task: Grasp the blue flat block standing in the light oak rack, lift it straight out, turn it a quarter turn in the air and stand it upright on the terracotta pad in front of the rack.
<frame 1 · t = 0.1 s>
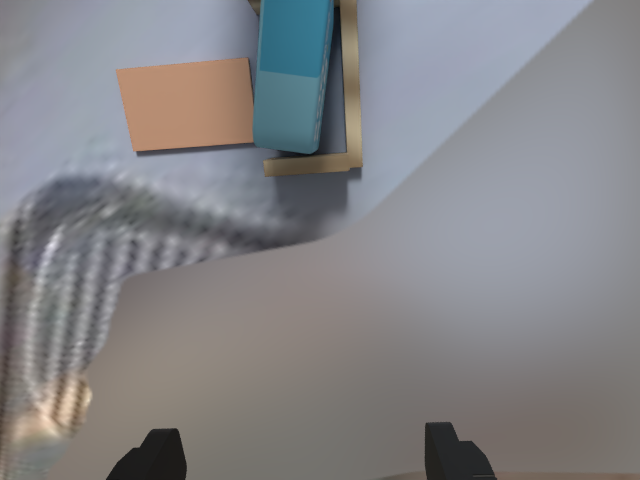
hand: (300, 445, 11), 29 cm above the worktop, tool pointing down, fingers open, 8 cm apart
oak rack: (303, 86, 35), on the worktop
terracotta pad: (190, 106, 36), on the worktop
blue flat block: (304, 87, 35), on the worktop
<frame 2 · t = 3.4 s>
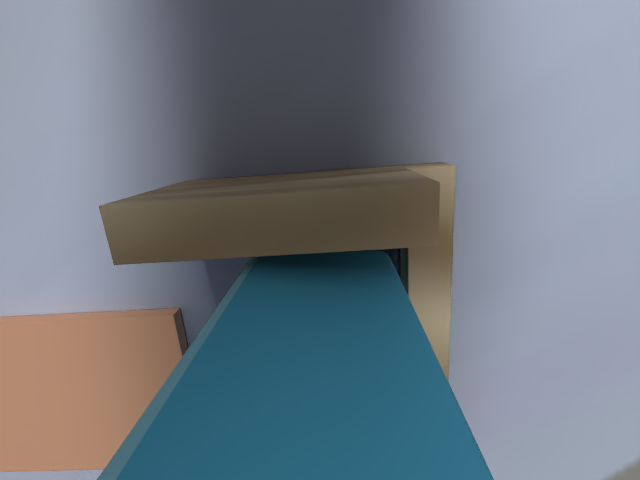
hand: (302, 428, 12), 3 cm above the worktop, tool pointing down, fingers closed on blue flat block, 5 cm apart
oak rack: (309, 364, 15), on the worktop
terracotta pad: (55, 392, 16), on the worktop
blue flat block: (310, 361, 15), on the worktop, touching gripper
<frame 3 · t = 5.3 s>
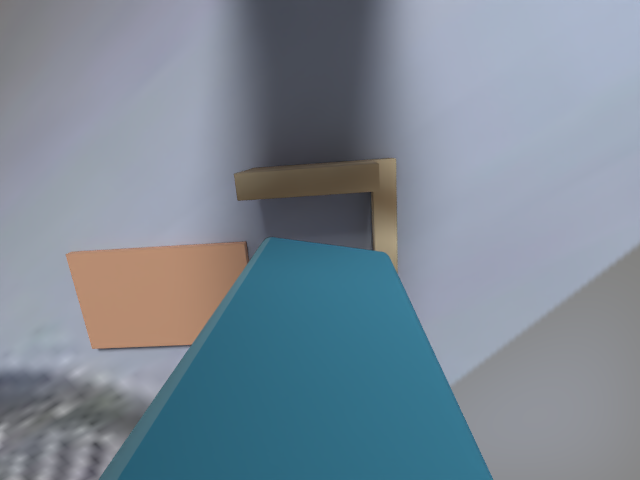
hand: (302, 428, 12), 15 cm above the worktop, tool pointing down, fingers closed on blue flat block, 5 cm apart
oak rack: (320, 275, 26), on the worktop
terracotta pad: (167, 295, 27), on the worktop
blue flat block: (310, 361, 15), point 11 cm above the worktop, touching gripper
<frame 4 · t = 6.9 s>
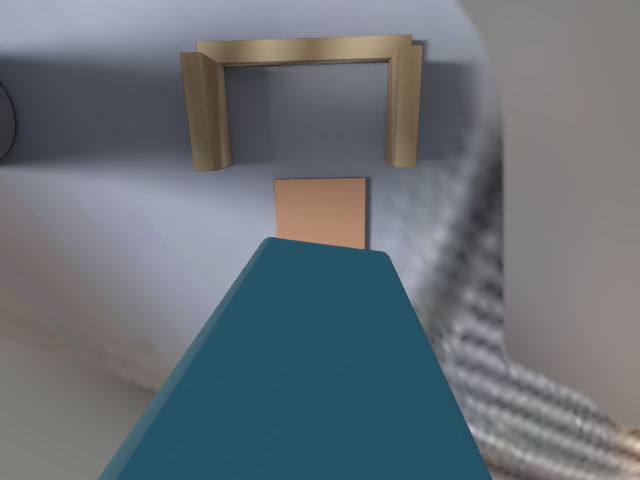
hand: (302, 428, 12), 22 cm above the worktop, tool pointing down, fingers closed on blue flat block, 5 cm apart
oak rack: (306, 116, 29), on the worktop
terracotta pad: (321, 250, 33), on the worktop
blue flat block: (310, 361, 15), point 18 cm above the worktop, touching gripper
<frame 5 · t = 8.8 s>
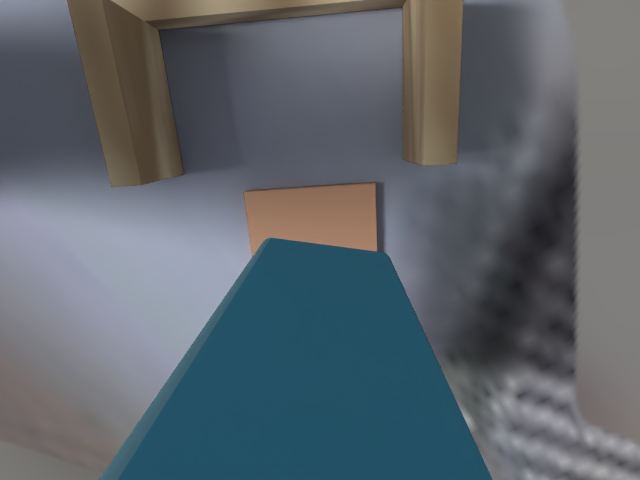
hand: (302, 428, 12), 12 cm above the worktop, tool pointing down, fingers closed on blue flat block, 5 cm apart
oak rack: (285, 97, 20), on the worktop
terracotta pad: (317, 286, 23), on the worktop
blue flat block: (310, 361, 15), point 8 cm above the worktop, touching gripper
when the fingers open (5 cm above the worktop, at t = 10.5 s): blue flat block drops 1 cm, resting on terracotta pad.
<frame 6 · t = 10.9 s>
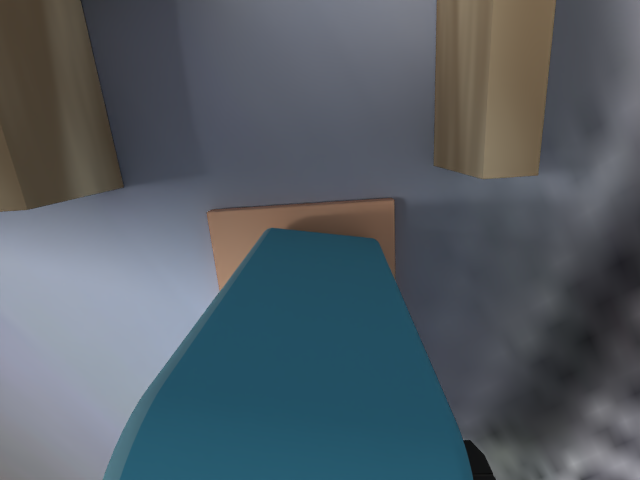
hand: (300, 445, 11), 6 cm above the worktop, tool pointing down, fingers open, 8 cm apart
oak rack: (263, 75, 14), on the worktop
terracotta pad: (312, 338, 17), on the worktop
blue flat block: (311, 342, 17), resting on terracotta pad
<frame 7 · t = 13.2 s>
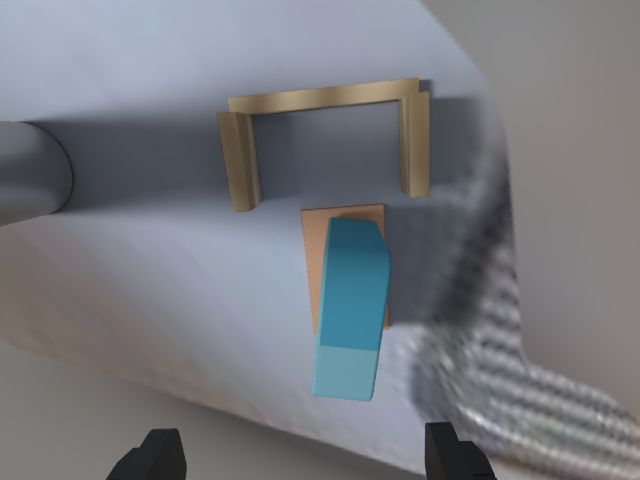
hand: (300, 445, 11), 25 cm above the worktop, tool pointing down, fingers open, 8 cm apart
oak rack: (327, 153, 33), on the worktop
terracotta pad: (346, 270, 36), on the worktop
blue flat block: (346, 272, 35), resting on terracotta pad
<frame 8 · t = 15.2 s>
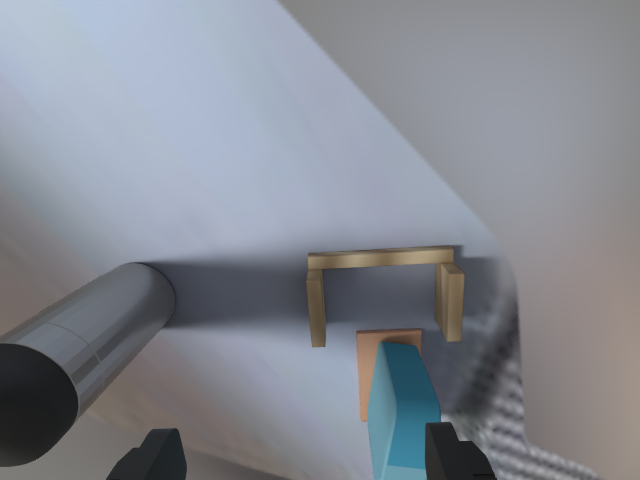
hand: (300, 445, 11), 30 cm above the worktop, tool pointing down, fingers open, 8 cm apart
oak rack: (379, 292, 42), on the worktop
terracotta pad: (389, 375, 45), on the worktop
blue flat block: (389, 377, 45), resting on terracotta pad
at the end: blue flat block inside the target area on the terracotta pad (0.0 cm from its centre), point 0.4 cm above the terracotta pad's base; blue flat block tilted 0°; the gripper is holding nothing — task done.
